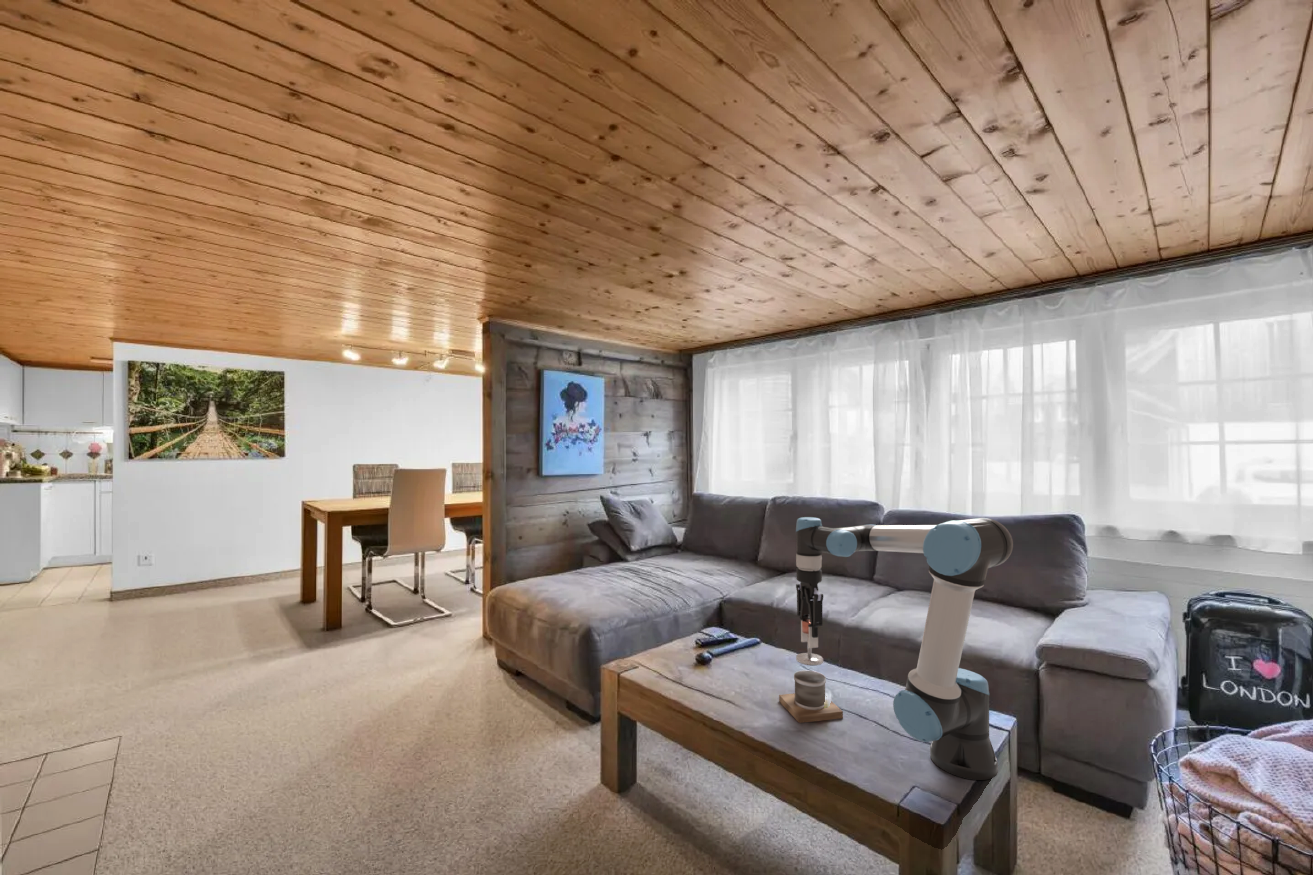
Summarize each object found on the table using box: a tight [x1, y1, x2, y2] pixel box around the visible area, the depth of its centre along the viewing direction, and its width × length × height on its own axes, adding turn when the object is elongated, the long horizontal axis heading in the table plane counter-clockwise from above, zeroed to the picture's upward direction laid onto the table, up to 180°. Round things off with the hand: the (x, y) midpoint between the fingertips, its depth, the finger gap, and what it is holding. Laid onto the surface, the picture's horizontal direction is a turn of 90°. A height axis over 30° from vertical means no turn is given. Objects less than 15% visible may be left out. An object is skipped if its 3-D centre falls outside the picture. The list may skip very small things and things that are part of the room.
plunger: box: [795, 619, 824, 667], centre depth 170 cm, size 8×8×12 cm
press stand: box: [778, 669, 844, 724], centre depth 169 cm, size 14×14×10 cm
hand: (809, 644), depth 170 cm, fingers closed on plunger, 4 cm apart
